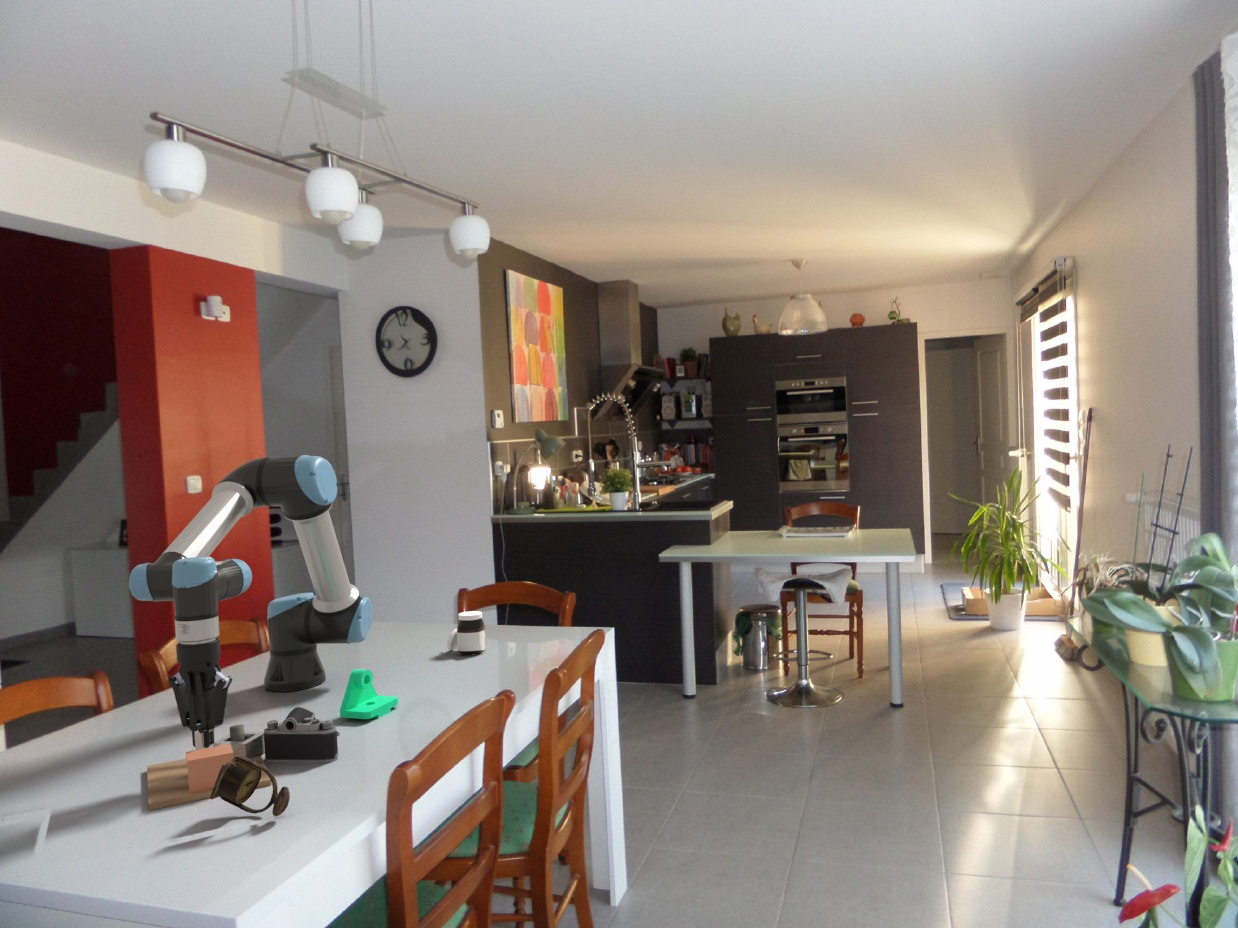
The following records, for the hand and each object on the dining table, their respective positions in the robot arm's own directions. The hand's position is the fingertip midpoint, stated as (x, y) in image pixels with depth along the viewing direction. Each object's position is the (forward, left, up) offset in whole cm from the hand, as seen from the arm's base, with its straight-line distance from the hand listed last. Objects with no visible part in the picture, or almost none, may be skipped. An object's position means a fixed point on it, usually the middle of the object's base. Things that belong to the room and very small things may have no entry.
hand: (204, 763), depth 173 cm
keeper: (+7, +1, -3) cm, 7 cm away
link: (+6, -2, -2) cm, 6 cm away
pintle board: (+1, 0, -3) cm, 3 cm away
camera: (-1, +19, -3) cm, 19 cm away
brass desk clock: (+24, +6, -3) cm, 25 cm away
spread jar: (-65, +73, -3) cm, 98 cm away
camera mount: (-22, +36, -3) cm, 42 cm away
